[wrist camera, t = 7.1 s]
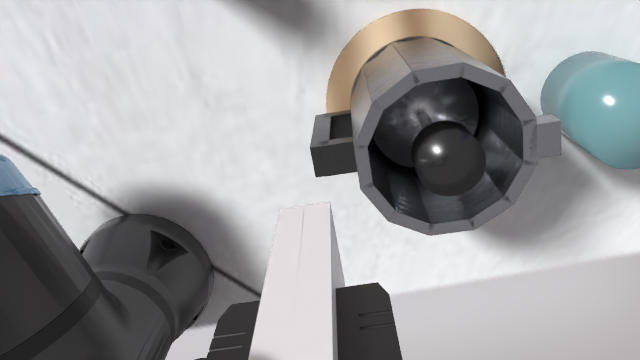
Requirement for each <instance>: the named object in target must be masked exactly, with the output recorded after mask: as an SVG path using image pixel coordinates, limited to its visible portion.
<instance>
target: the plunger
mask: <svg viewBox="0 0 640 360" xmlns="http://www.w3.org/2000/svg"><path fill="white" fill-rule="evenodd" d="M478 117H479V109H478V102H477V98H476V95H475V93H474V91H473V89H472V87H471V86H470V84H469V83H468V82H467V81H466V79H465V78H463V77H457V78H451V79H445V80H439V81H433V82H427V83H421V84H417V85H416V86H414V87H413V88H412V89H410V90H409V91H408V92H407V93H405V94H404V95H403V96H401V97H400V98H399V99H398V100H396V101H395V102H394V103H392V104H391V105H390V106H389V107H387V108H386V109H385V110H383V112H382V115H381V117H380V119H379V122H378V124H377V126H376V129H375V131H374V133H373V138H374V140H375V142H376V144H377V146H378V147H379V149H380V150H381V151H382V152H383V153H384V154H385V155H386V156H387V157H388V158H389V159H391V160H392V161H394V162H395V163H398V164H400V165H402V166H406V167H409V168H415V169H416V172H417V174H418V177H419V179H420V181H421V183H422V184H423V185H424V186H425V187H426V188H427V189H428V190H429V191H431V192H432V193H435V194H437V195H441V196H456V195H460V194H463V193H465V192H467V191H469V190H471V189H472V188H473V187H474V186H475V185H476V184H477V183H478V182H479V181H480V179H481V178H482V176H483V174H484V171H485V168H486V156H485V152H484V150H483V148H482V146H481V145H480V143H479V142H478V141H477V140H476V139H475V137H474V136H473V135H474V133H475V131H476V127H477V124H478Z"/></svg>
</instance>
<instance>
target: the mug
mask: <svg viewBox="0 0 640 360" xmlns="http://www.w3.org/2000/svg"><path fill="white" fill-rule="evenodd" d="M541 109H542V112H543V115H550V114H552V115H553V116H555V117H556V118H558V119H559V120H561V133H562V134H564V135H565V136H566V137H568V138H569V139H571V140H572V141H573V142H575V143H576V144H578V145H579V146H581V147H582V148H583V149H585V150H586V151H588V152H589V153H590V154H592V155H593V156H595V157H596V158H597V159H599V160H600V161H602V162H603V163H605V164H607V165H609V166H612V167H614V168H619V169H637V168H640V63H636V62H633V61H629V60H626V59H623V58H619V57H616V56H612V55H609V54H605V53H601V52H594V51H591V52H583V53H579V54H576V55H573V56H571V57H569V58H567V59H565V60H564V61H562V62H561V63H560V64H559V65H558V66H556V67H555V68H554V69H553V71H552V72H551V73H550V74H549V76H548V77H547V79H546V81H545V83H544V86H543V88H542V92H541Z"/></svg>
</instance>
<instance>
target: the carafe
mask: <svg viewBox="0 0 640 360" xmlns="http://www.w3.org/2000/svg"><path fill="white" fill-rule="evenodd" d="M457 77H463V78H465V79H466V81H467V82H468V83H469V84H470V86H471V87H472V89H473V91H474V93H475V95H476V98H477V102H478V109H479V117H478V124H477V127H476V131H475V133H474V135H473V136H474V137H475V139H476V140H477V141H478V142H479V143H480V145H481V146H482V148H483V150H484V152H485V156H486V168H485V171H484V174H483V176H482V178H481V179H480V181H479V182H478V183H477V184H476V185H475V186H474V187H473V188H472V189H471V190H469V191H467V192H465V193H463V194H460V195H456V196H441V195H437V194H435V193H432V192H431V191H429V190H428V189H427V188H426V187H425V186H424V185H423V184H422V183H421V181H420V179H419V177H418V174H417V172H416V169H415V168H409V167H406V166H402V165H400V164H398V163H395V162H394V161H392V160H391V159H389V158H388V157H387V156H386V155H385V154H384V153H383V152H382V151H381V150H380V149H379V147H378V146H377V144H376V142H375V140H374V138H373V133H374V131H375V129H376V126H377V124H378V122H379V119H380V117H381V115H382V112H383V110H385V109H386V108H387V107H389V106H390V105H391V104H392V103H394V102H395V101H396V100H398V99H399V98H400V97H401V96H403V95H404V94H405V93H407V92H408V91H409V90H410V89H412V88H413V87H414V86H416V85H417V84H421V83H427V82H433V81H439V80H445V79H451V78H457ZM310 150H311V155H312V160H313V165H314V171H315V176H316V177H321V176H332V175H338V174H345V173H352V172H358V176H359V183H360V189H361V191H362V192H363V193H364V194H365V195H366V196H367V197H368V199H369V200H370V201H371V202H372V203H373V204H374V206H375V207H376V208H377V209H378V210H379V211H380V212H381V214H382V215H383V216H384V217H385V218H386V219H387V220H388V221H389V222H391V223H394V224H397V225H400V226H403V227H406V228H409V229H412V230H414V231H417V232H420V233H423V234H426V235H430V236H431V235H438V234H446V233H453V232H461V231H469V230H474V229H476V228H478V227H480V226H481V225H483V224H484V223H486V222H487V221H489V220H490V219H492V218H493V217H495V216H496V215H498V214H500V213H501V212H503V211H504V210H506V209H507V208H509V207H510V206H512V205H513V204H514V203H515V201H516V200H517V198H518V196H519V194H520V193H521V191H522V189H523V188H524V186H525V184H526V182H527V181H528V179H529V177H530V175H531V174H532V172H533V170H534V169H535V167H536V165H537V158H542V157H549V156H556V155H561V120H559V119H558V118H556V117H555V116H553V115H552V114H550V115H544V116H537V117H536V116H535V115H534V113H533V112H532V111H531V109H530V108H529V106H528V105H527V103H526V102H525V101H524V99H523V98H522V96H521V95H520V93H519V92H518V90H517V89H516V88H515V86H514V85H513V83H512V82H511V80H509V79H508V78H506V77H504V76H503V75H501V74H499V73H498V72H496V71H495V70H493V69H491V68H490V67H488V66H486V65H485V64H483V63H482V62H480V61H478V60H477V59H475V58H473V57H472V56H470V55H469V54H467V53H465V52H464V51H462V50H460V49H458V48H456V47H455V46H453V45H451V44H450V43H448V42H445V41H443V40H441V39H437V38H434V37H428V36H411V37H405V38H401V39H398V40H395V41H392V42H390V43H388V44H386V45H384V46H383V47H381V48H380V49H378V50H377V51H376V52H374V53H373V54H372V55H371V56H370V57H369V58H368V59H367V61H366V62H365V63H364V64H363V66H362V67H361V69H360V70H359V72H358V74H357V76H356V78H355V80H354V83H353V87H352V91H351V96H350V110H345V111H339V112H333V113H326V114H322V115H316V117H315V122H314V128H313V134H312V139H311V145H310Z"/></svg>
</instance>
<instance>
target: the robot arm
mask: <svg viewBox="0 0 640 360" xmlns="http://www.w3.org/2000/svg"><path fill="white" fill-rule="evenodd" d="M40 195H41V193H40V192H39V190H38V189H36V188H33V187H32V186H31V185H30V183H29V182H28V181H27V180H26V178H25V177H24V176H23V175H22V173H21V172H20V171H19V170H18V169H17V167H16V166H15V165H14V164H13V162H12V161H11V160H10V159H9V158H7V157H5V156H4V155H2V154H0V360H165V358H166V356H167V353H168V351H169V349H170V346H171V344H172V342H174V341H175V340H176V339H177V338H178V337H179V336H180V335H181V334H182V333H183V332H184V331H185V330H186V329H188V328H189V327H190V326H191V325H192V324H194V323H195V322H196V321H197V319H198V318H199V317H200V316H201V314H202V313H203V311H204V309H205V307H206V305H207V303H208V300H209V298H210V295H211V292H212V289H213V270H212V265H211V262H210V260H209V257H208V255H207V254H206V252H205V250H204V249H203V247H202V246H201V244H200V243H199V242H198V241H197V240H196V239H195V238H194V237H193V236H192V235H191V234H190V233H189V232H187V231H186V230H185V229H183V228H182V227H180V226H178V225H177V224H175V223H173V222H170V221H168V220H165V219H163V218H159V217H155V216H150V215H142V214H134V215H125V216H121V217H117V218H114V219H112V220H109V221H107V222H106V223H104V224H102V225H101V226H100V227H99V228H97V229H96V230H95V231H94V232H93V233H92V234H91V235H90V236H89V238H88V239H87V240H86V241H85V242H84V243H83V245H82V246H81V248H80V250H78V248H77V247H76V246H75V244H74V243H73V241H72V240H71V239H70V237H69V236H68V235H67V233H66V232H65V230H64V229H63V228H62V226H61V225H60V223H59V222H58V221H57V219H56V218H55V216H54V215H53V214H52V212H51V211H50V209H49V208H48V207H47V205H46V204H45V202H44V201H43V200H42V198H41V197H40ZM209 350H210V352H209V353H208V355H207V358H200V359H196V360H402V356H401V351H400V346H399V341H398V336H397V331H396V326H395V321H394V317H393V312H392V306H391V301H390V297H389V294H388V293H387V292H386V291H385V290H384V289H383V288H382V287H381V285H380V284H379V283H378V282H377V283H370V284H363V285H356V286H349V287H345V282H344V276H343V271H342V265H341V260H340V254H339V249H338V243H337V238H336V232H335V227H334V221H333V216H332V211H331V205H330V202H325V203H318V204H312V205H305V206H299V207H293V208H286V209H280V210H279V213H278V218H277V222H276V227H275V232H274V237H273V242H272V247H271V252H270V256H269V261H268V266H267V271H266V276H265V281H264V286H263V290H262V295H261V300H260V301H253V302H246V303H239V304H232V305H231V306H230V307H229V308H228V309H227V310H226V312H225V313H224V314H223V315H222V316H221V317H220V319H219V320H218V323H217V326H216V330H215V333H214V339H212V342H211V345H210V348H209Z"/></svg>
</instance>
